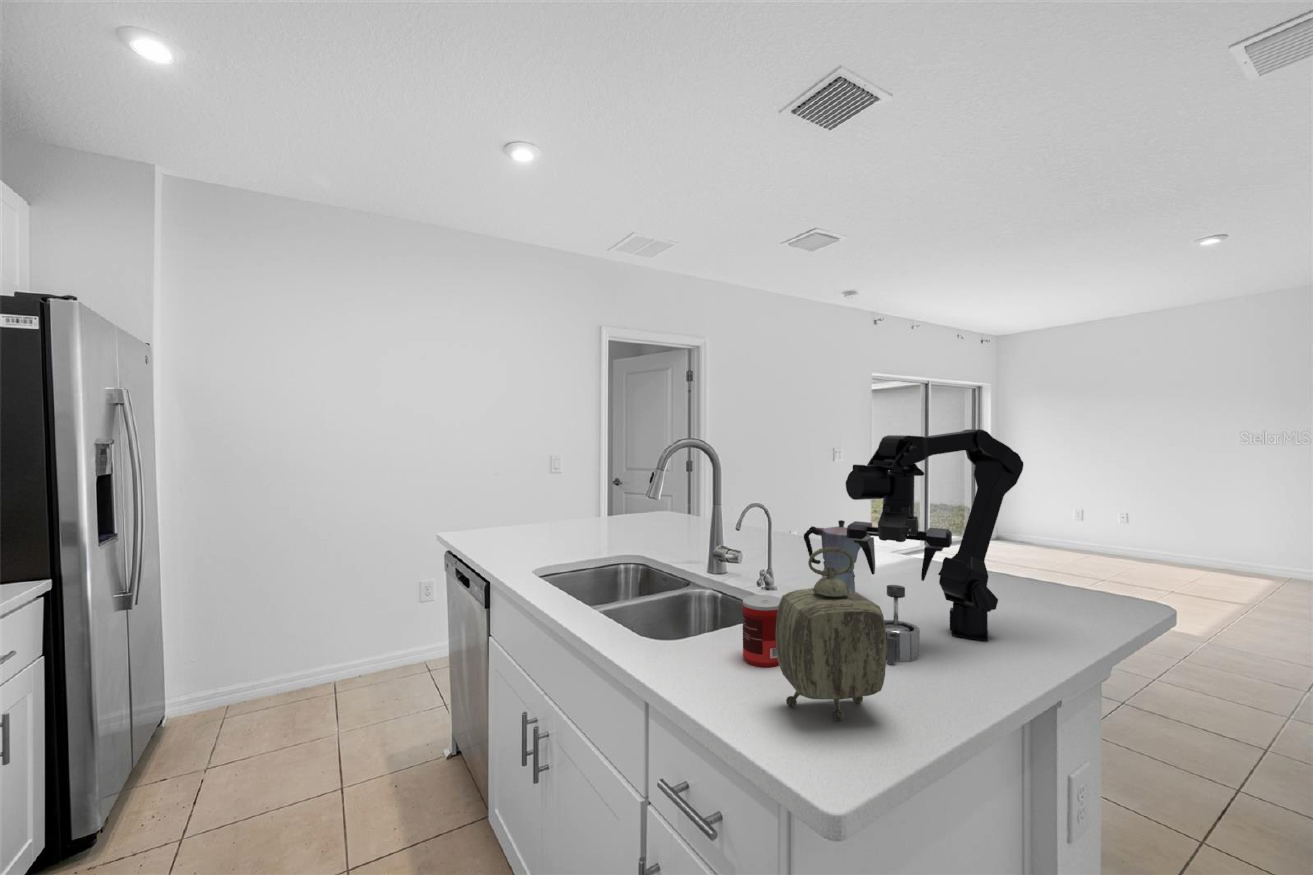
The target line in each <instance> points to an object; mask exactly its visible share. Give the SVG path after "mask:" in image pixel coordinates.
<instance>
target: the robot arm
mask: <svg viewBox="0 0 1313 875" xmlns="http://www.w3.org/2000/svg"><path fill="white" fill-rule="evenodd" d="M961 451H965V454H966V457H967V459H968V461H970V463H971V464H973V465H974V471H973V476H974V479H975V480H974V481H975V483H976V487H977V489H976V493H975V496H974V499H973V503H972V506H971V509H970V512H969V514H968V515H969V516H968V517H967V522H966V525H965V529H964V532H963V535H962V537H961V538H962V539H961V541H960V544H959V548H958V551H957V552H956V553H955V554H954V555H953V556H952V557H947V556H945V557H944V558H943V560H942V565H941V569H940V571H939V572H938V574H937V576H939V581H938V584H939V586H940V588H941V590H942V592H943V595H944V598H945V601H949V602H952V607H950V609H949V630H950V632H951V636H953V637H957V638H965V639H970V640H975V641H976V640H977V641H982V642H989V628H988V627H989V626H988V615H989V614H988V613H989V612H992V611H993V610H997V607H998V602H999V599H998V597H996V595H995V594H994V593H993V592H992V591H991V590H990V589H989V587H988V581H989V573H988V570H987V566H986V561H985V560H986V555H987V553H988V550H989V546H990V542H991V540H992V537H993V533H994V529H995V526H996V523H997V520H998V516H999V513H1000V510H1001V507H1002V504H1003V499H1004V497H1005V495H1006V494H1007V493H1008V492H1009V491H1011V489H1013V488H1014V487H1015V485H1016V484H1017V483H1018V480H1019V479H1020V477H1021V475H1022V473H1023V471H1024V461H1023V460H1022V459H1021V456H1020V454H1019V453H1017V452H1016V451H1014V450H1013V448H1011V447H1010V446H1008V445H1006V444H1005V443H1003V442H1001V441H1000V440H998V439H996V438H995V437H994V436H992V435H991V434H990V433H989V432H988V431H987V430H984V429H979V428H978V429H974V428H973V429H972V428H971V429H964V430H962V431H955V432H954V431H953V432H946V433H941V434H939V433H938V434H933V435H925V436H922V435H921V436H920V435H903V434H902V435H899V434H896V435H893V434H892V435H886V436H883V437H881V440H880V441H879V444H878V448H876V451H875V452H874V454H873V455H872V457H871V458H870V460H869V461H868V462H867V465H865V464H853V465H852V470H851V471H850V472H849V473H848V475H847V477H846V480H845V489H846V490H845V491H846V493H847V495H848V497H849V498H850V499H852V500H854V501H855V500H857V501H858V500H862V501H864V500H882V510H881V511H882V512H881V514H880V517H879V520H878V522H877V526H873V522H867V521H858V520H857V521H852V522H850V524H848V526H846V528H847V538H853V539H854V540H853V541H854V543H858V544H859V545H860V546H861V548H860V549H862V551H863V553H864V556H865V558H866V561H867V565H868V567H869V570H870V573H871V575H875V574H876V555H875V554H876V553H875V552H876V551H875V539H874V538H875V537H878V539H879V540H880V541H883V542H884V541H885V542H886V541H893V542H896V543H904V542H905V541H907V540H910V541H912V540H913V541H922V542H926V544H925V546H924V549H923V550H924V551H923V552H924V553H923V559H922V560H923V561H922V567H921V572H920V574H921V576H920V577H921V578H920V581H921V582H924V581H925V579H926V576H927V573H928V570H929V568H930V565H931V563H932V560H933V558H934V556H935V554H936V553H937V552H942V551H944V549H946V548H947V549H948V548H950V547H951V545H952V543H953V541H952V540H953V539H952V538H953V537H952V536H953V533H952V531H951V530H950V529H948V528H939V527H928V529H927V530H926V531H924V530H919V519H918V516H917V515H915V477H916V476H917V477H922V476H925V472H924V471H923V470H922V469H920V468H919V466H918V465H917V464H918V463H920V462H923V461H925V460H926V459H927V458H928V457H932V456H934V455H943V454H947V453H954V452H961Z"/></svg>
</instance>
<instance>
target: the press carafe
mask: <svg viewBox="0 0 1313 875" xmlns="http://www.w3.org/2000/svg"><path fill="white" fill-rule="evenodd" d="M884 621H885V625H900V626H904V627H907V628H908V629H909V630H910V632H908V633H897V632H891V631H887V630H886V642H887V654H886V665H887V664H888V665H892V666H893V665H895V664H896V662H913V661H916V660H919V659H920V653H921V652H920V650H921V648H920V647H921V646H920V645H921V644H920V643H921V642H920V640H921V639H920V638H921V637H920V635H921V634H920V633H921V632H920V631H921V629H920V627H918V626H917V625H915V624H913V623H909V622H907V621H903V620H898V624H894V619H884Z"/></svg>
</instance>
